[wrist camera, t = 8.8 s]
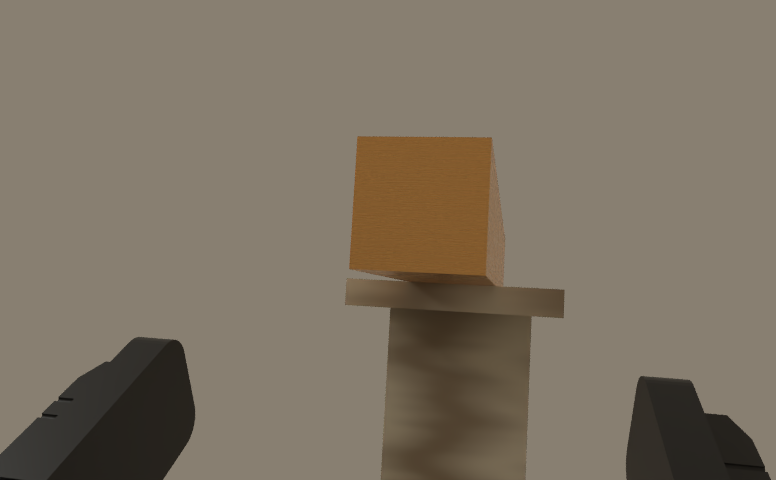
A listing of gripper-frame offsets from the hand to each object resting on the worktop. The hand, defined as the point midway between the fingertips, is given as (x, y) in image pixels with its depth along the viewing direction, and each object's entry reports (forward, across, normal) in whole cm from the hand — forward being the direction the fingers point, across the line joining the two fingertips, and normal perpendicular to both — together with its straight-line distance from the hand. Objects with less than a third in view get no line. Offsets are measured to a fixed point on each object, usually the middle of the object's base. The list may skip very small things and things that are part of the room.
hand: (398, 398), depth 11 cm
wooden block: (+15, 0, -6) cm, 16 cm away
